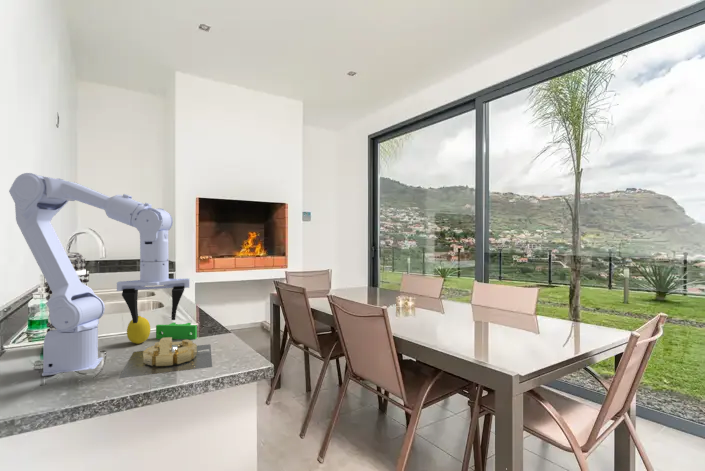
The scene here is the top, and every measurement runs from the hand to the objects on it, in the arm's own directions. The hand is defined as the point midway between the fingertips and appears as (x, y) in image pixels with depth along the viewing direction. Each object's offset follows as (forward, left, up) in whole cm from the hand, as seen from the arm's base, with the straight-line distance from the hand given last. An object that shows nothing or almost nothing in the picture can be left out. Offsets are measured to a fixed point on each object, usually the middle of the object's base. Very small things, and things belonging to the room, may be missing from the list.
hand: (154, 320), depth 85 cm
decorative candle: (-23, +24, -11) cm, 35 cm away
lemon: (-6, +20, -11) cm, 23 cm away
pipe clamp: (+4, +22, -11) cm, 25 cm away
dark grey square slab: (+3, +3, -11) cm, 11 cm away
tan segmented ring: (+3, +3, -10) cm, 11 cm away
